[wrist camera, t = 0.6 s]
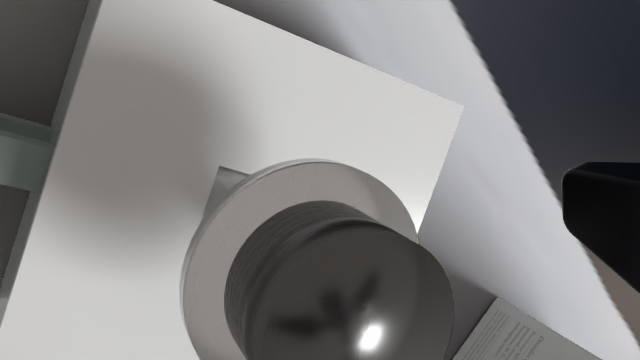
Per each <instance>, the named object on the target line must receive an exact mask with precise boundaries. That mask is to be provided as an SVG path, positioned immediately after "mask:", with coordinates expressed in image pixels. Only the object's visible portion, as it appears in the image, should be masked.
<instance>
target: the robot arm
mask: <svg viewBox="0 0 640 360" xmlns="http://www.w3.org/2000/svg"><path fill="white" fill-rule="evenodd" d="M561 184H562V211H563V220H564V224H565V226H566V227H567V229H568V230H569V232H570V233H571V234H572V235H573V236H575V237H576V238H577V239H578V240H579V241H580V242H581V243H583V244H584V245H585V246H586V247H587V248H588V249H589V250H591V251H592V252H593V253H594V254H595V255H596V256H597V257H598V258H600V259H601V260H602V261H603V262H604V263H605V264H606V265H608V266H609V267H610V268H611V269H612V270H613V271H614V272H615V273H617V274H618V275H619V276H620V277H621V278H622V279H624V280H625V281H626V282H627V283H628V284H629V285H630V286H631V287H633V288H634V289H635V290H636V291H637V292H639V293H640V162H639V163H638V162H585V163H582V164H580V165H578V166H575V167H573V168H571V169H569V170H567V171H566V172H565V173H564V175H563V177H562V182H561Z"/></svg>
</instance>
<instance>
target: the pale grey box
mask: <svg viewBox="0 0 640 360" xmlns="http://www.w3.org/2000/svg"><path fill="white" fill-rule="evenodd" d="M463 109H464V106H462V105H460V104H458V103H455V102H453V101H451V100H448V99H446V98H443V97H441V96H439V95H436V94H434V93H432V92H429V91H427V90H424V89H422V88H420V87H417V86H415V85H413V84H410V83H408V82H406V81H403V80H401V79H398V78H396V77H394V76H391V75H389V74H387V73H384V72H382V71H379V70H377V69H375V68H372V67H370V66H368V65H365V64H363V63H360V62H358V61H356V60H353V59H351V58H349V57H346V56H344V55H341V54H339V53H337V52H334V51H332V50H330V49H327V48H325V47H322V46H320V45H318V44H315V43H313V42H311V41H308V40H306V39H303V38H301V37H299V36H296V35H294V34H292V33H289V32H287V31H284V30H282V29H280V28H277V27H275V26H273V25H270V24H268V23H265V22H263V21H261V20H258V19H256V18H254V17H251V16H249V15H246V14H244V13H242V12H239V11H237V10H235V9H232V8H230V7H227V6H225V5H223V4H220V3H218V2H216V1H213V0H89V3H88V6H87V9H86V12H85V16H84V19H83V22H82V25H81V28H80V32H79V35H78V38H77V41H76V45H75V48H74V51H73V54H72V57H71V61H70V64H69V67H68V70H67V74H66V77H65V80H64V83H63V86H62V90H61V93H60V96H59V99H58V103H57V106H56V109H55V112H54V115H53V119H52V122H51V125H50V126H47V125H43V124H40V123H36V122H33V121H29V120H26V119H22V118H19V117H15V116H12V115H8V114H5V113H1V112H0V184H2V185H6V186H10V187H14V188H19V189H23V190H27V191H30V193H29V196H28V199H27V202H26V206H25V209H24V212H23V215H22V219H21V222H20V225H19V228H18V232H17V235H16V238H15V241H14V244H13V248H12V251H11V254H10V257H9V261H8V264H7V267H6V270H5V273H4V277H3V280H2V283H1V286H0V360H200V359H199V357H198V355H197V353H196V351H195V349H194V347H193V345H192V343H191V341H190V339H189V337H188V335H187V333H186V330H185V326H184V323H183V320H182V316H181V309H180V303H179V284H180V276H181V269H182V265H183V262H184V258H185V254H186V251H187V249H188V246H189V244H190V242H191V239H192V237H193V235H194V233H195V232H196V230H197V228H198V226H199V224H200V221H201V219H202V216H203V213H204V210H205V207H206V204H207V201H208V198H209V195H210V192H211V189H212V186H213V183H214V180H215V177H216V174H217V171H218V168H219V166H223V167H226V168H229V169H233V170H236V171H240V172H243V173H247V174H250V175H251V174H253V173H255V172H257V171H259V170H262V169H264V168H266V167H268V166H271V165H274V164H277V163H281V162H284V161H289V160H295V159H305V158H319V159H329V160H333V161H337V162H342V163H345V164H347V165H350V166H352V167H354V168H357V169H359V170H361V171H364V172H366V173H368V174H370V175H372V176H373V177H375V178H377V179H378V180H380V181H381V182H383V183H384V184H385V185H386V186H387V187H389V188H390V189H391V190H392V191H393V192H394V193H395V194H396V195H397V197H398V198H399V199H400V200H401V201H402V203H403V204H404V206H405V207H406V209H407V211H408V212H409V214H410V216H411V219H412V221H413V223H414V225H415V229H416V232H417V234H418V231H419V228H420V225H421V223H422V220H423V217H424V215H425V212H426V209H427V206H428V204H429V201H430V198H431V196H432V193H433V190H434V187H435V185H436V182H437V179H438V177H439V174H440V171H441V168H442V166H443V163H444V160H445V158H446V155H447V152H448V149H449V147H450V144H451V141H452V139H453V136H454V133H455V130H456V128H457V125H458V122H459V120H460V117H461V114H462V111H463Z"/></svg>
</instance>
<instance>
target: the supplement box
mask: <svg viewBox="0 0 640 360" xmlns="http://www.w3.org/2000/svg"><path fill="white" fill-rule="evenodd" d="M452 360H602V359H600V358H598V357H597V356H595V355H593V354H592V353H590V352H588V351H587V350H585V349H584V348H582V347H580V346H579V345H577V344H575V343H573V342H572V341H570V340H568V339H567V338H565V337H563V336H562V335H560V334H558V333H557V332H555V331H553V330H552V329H550V328H548V327H547V326H545V325H543V324H542V323H540V322H539V321H537V320H535V319H534V318H532V317H530V316H529V315H527V314H525V313H524V312H522V311H520V310H519V309H517V308H515V307H514V306H512V305H510V304H509V303H507V302H506V301H504V300H503V299H501V298H497V299H496V300H495V301H494V302H493V304H492V305H491V306H490V307H489V309H488V310H487V312H486V313H485V314H484V316H483V317H482V318H481V320H480V321H479V323H478V324H477V326H476V327H475V328H474V330H473V331H472V333H471V334H470V336H469V337H468V338H467V340H466V341H465V342H464V344H463V345H462V346H461V348H460V349H459V351H458V352H457V354H456V355H455V356H454V358H453V359H452Z"/></svg>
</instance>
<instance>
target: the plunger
mask: <svg viewBox="0 0 640 360" xmlns="http://www.w3.org/2000/svg"><path fill="white" fill-rule="evenodd" d="M179 303H180V309H181V316H182V320H183V323H184V326H185V330H186V333H187V335H188V337H189V339H190V341H191V343H192V345H193V347H194V349H195V351H196V353H197V355H198V357H199V359H200V360H443V358H444V355H445V353H446V351H447V347H448V344H449V341H450V337H451V332H452V328H453V317H454V306H453V297H452V291H451V288H450V284H449V281H448V279H447V276H446V274H445V272H444V270H443V269H442V267H441V265H440V264H439V262H438V261H437V260H436V259H435V258H434V257H433V255H432V254H431V253H430V252H428V251H427V250H426V249H425V248H423V247H422V246H421V245H419V239H418V235H417V232H416V229H415V225H414V223H413V221H412V219H411V216H410V214H409V212H408V211H407V209H406V207H405V206H404V204H403V203H402V201H401V200H400V199H399V198H398V197H397V195H396V194H395V193H394V192H393V191H392V190H391V189H390V188H389V187H387V186H386V185H385V184H384V183H383V182H381V181H380V180H378V179H377V178H375V177H373V176H372V175H370V174H368V173H366V172H364V171H361V170H359V169H357V168H354V167H352V166H350V165H347V164H345V163H342V162H337V161H333V160H329V159H319V158H305V159H295V160H289V161H284V162H281V163H277V164H274V165H271V166H268V167H266V168H264V169H262V170H259V171H257V172H255V173H253V174H251V175H250V174H247V173H243V172H240V171H236V170H233V169H229V168H226V167H223V166H219V168H218V171H217V174H216V177H215V180H214V183H213V186H212V189H211V192H210V195H209V198H208V201H207V204H206V207H205V210H204V213H203V216H202V219H201V221H200V224H199V226H198V228H197V230H196V232H195V233H194V235H193V237H192V239H191V242H190V244H189V246H188V249H187V251H186V254H185V258H184V262H183V265H182V269H181V276H180V284H179Z"/></svg>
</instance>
